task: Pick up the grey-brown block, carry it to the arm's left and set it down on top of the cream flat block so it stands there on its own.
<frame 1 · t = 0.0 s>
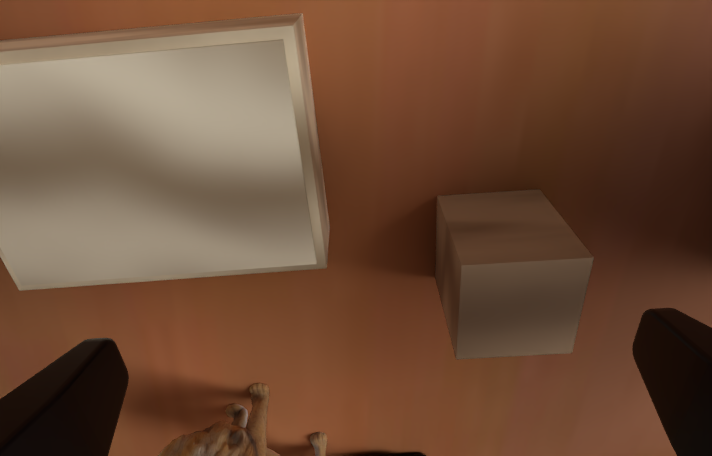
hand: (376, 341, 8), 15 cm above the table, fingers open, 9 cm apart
lion figurine: (269, 420, 32), on the table, touching arm
grey-brown block: (484, 235, 24), on the table
cream flat block: (169, 142, 22), on the table
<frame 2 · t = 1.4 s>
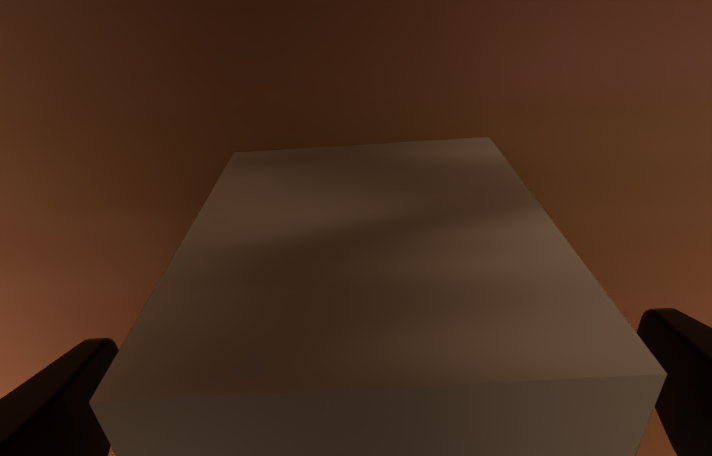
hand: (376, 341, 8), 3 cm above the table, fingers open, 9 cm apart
grey-brown block: (366, 250, 10), on the table
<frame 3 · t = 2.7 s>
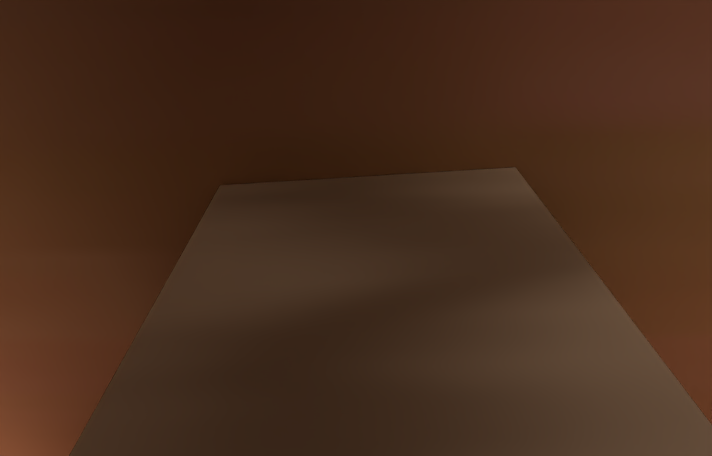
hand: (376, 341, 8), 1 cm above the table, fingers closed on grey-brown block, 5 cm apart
grey-brown block: (373, 293, 9), on the table, touching gripper
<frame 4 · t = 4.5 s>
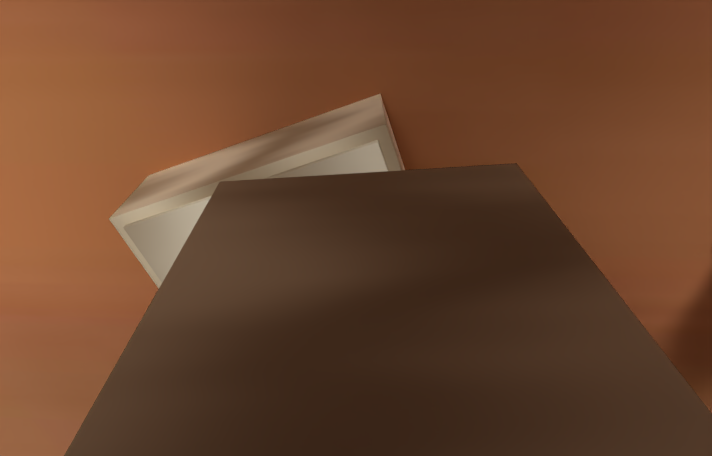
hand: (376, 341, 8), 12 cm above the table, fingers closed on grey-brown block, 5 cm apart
grey-brown block: (373, 290, 9), point 10 cm above the table, touching gripper
cream flat block: (324, 267, 22), on the table
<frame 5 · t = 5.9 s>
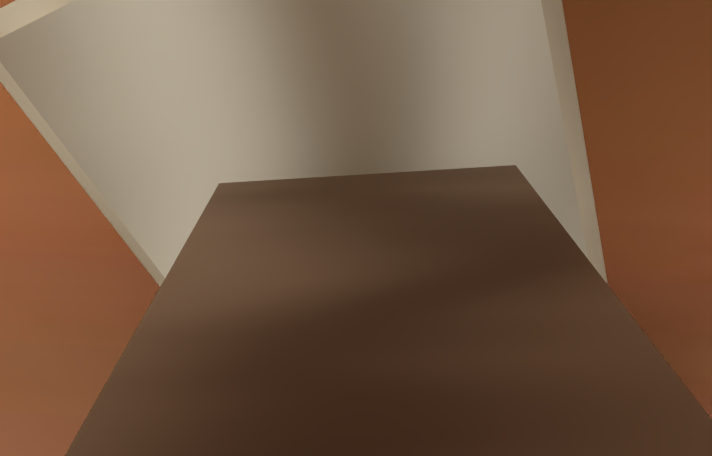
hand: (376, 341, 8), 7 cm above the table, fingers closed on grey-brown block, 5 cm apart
grey-brown block: (372, 291, 9), point 5 cm above the table, touching gripper
cream flat block: (362, 174, 14), on the table
when the fingers open (7 cm above the table, at t = 6.6 s): grey-brown block drops 2 cm, resting on cream flat block.
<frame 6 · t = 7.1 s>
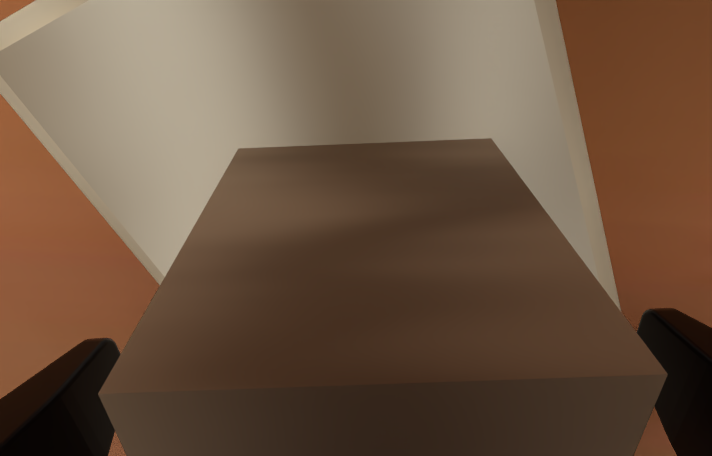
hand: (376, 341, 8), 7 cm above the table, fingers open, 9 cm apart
grey-brown block: (367, 249, 11), point 4 cm above the table, touching cream flat block
cream flat block: (364, 173, 14), on the table, touching grey-brown block
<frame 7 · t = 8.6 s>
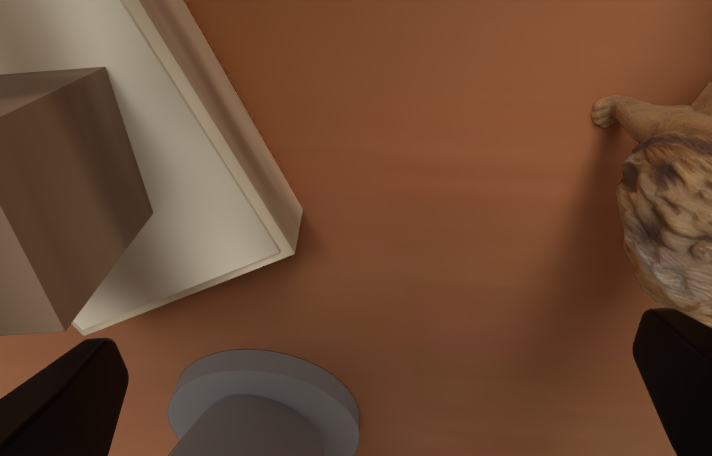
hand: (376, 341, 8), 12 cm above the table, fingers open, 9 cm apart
lion figurine: (694, 71, 18), on the table, touching arm
grey-brown block: (56, 151, 15), point 4 cm above the table, touching cream flat block
cream flat block: (113, 109, 19), on the table, touching grey-brown block
vase: (260, 408, 28), on the table
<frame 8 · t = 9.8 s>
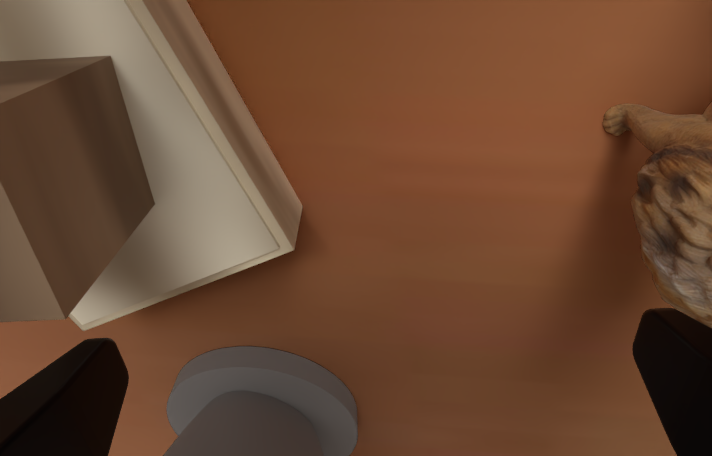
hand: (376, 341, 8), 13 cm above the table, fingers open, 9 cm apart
lion figurine: (704, 75, 19), on the table, touching arm
grey-brown block: (58, 139, 15), point 4 cm above the table, touching cream flat block
cream flat block: (114, 105, 19), on the table, touching grey-brown block
vase: (259, 405, 28), on the table
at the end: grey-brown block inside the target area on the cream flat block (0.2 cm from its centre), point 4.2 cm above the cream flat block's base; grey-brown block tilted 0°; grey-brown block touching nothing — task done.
